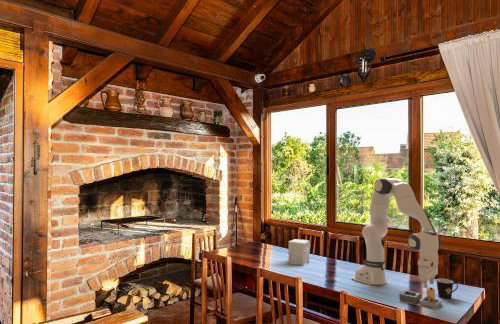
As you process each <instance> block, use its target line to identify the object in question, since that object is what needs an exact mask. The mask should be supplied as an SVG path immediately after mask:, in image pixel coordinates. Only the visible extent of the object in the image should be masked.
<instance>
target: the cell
mask: <svg viewBox="0 0 500 324" xmlns="http://www.w3.org/2000/svg"><path fill="white" fill-rule="evenodd" d="M426 297H427V302H431V303H435V299H436V289H435V288H434V287H429V286H428V287H427V288H426Z"/></svg>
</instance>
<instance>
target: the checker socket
mask: <svg viewBox="0 0 500 324" xmlns="http://www.w3.org/2000/svg"><path fill="white" fill-rule="evenodd" d="M398 294H399V295H398V297H399V299H398V300H401V301H400V302H402V301H405V302H404V303H406V302H409V303H408V304H410V303H413V304H412V305H414V304H417V303H418V302H420V301H419V300H421V299H422V298H423V297H422V295H423V294H422V293H421V292H416V291H411V290H407V289H405V290H403V291H402V292H400V293H398ZM407 294H408V295H407ZM411 295H412V296H411Z"/></svg>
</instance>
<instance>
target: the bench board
mask: <svg viewBox="0 0 500 324" xmlns="http://www.w3.org/2000/svg"><path fill="white" fill-rule="evenodd" d="M397 301H398V302H402V303H406V304H410V305H411V304H412V305H414V306H418V307H424V308H427V309H432V310H435V311H437V310H438V309H439V308H437V309H434V308H430V307H426V306H422V305H420V302H418V303H417V304H413V303H409V302H405V301H401V300H399V299H398V300H397ZM441 306H443V303H441Z"/></svg>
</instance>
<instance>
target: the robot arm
mask: <svg viewBox="0 0 500 324" xmlns="http://www.w3.org/2000/svg"><path fill="white" fill-rule="evenodd" d="M392 196H393V197H394V199H395V202H396V206H397V209H398V210H399V212H400V213H402V214H403V215H406V216H408V217H411V218H414V219H415V220H417V221H418V222H419V225H420V226H421V228H422V230H421V231H420V232H415V233H410V235H409V236H408V238H407V244H408V247H409V248H410V249H411V250H412V251H415V252H418V251H419V253H420V254H419V255H420V256H419V259H418V261H417V265H418V279H419V281H421V282H422V284H423V285H422V286H423V289H427V288H429V285H434V281H435V277H436V276H437V275H438V272H439V266H438V265H439V253H438V251H439V250H440V248H441V247H442V239H441V236H440V235H439V234H438V233H437V232H436V229H435V228H434V225H433V223H432V221H431V219H430V217H429V216H428V213H427V211H426V210H425V209H424V208H423V207H422V206H421V205H420V204H419V202H418V201H417V199H416V195H415V192H414V191H413V189H412V186H411V185H410V184H409V183H407V181H405V180H403V179H402V178H401V179H399V178H393V177H391V178H390V177H388V178H387V177H380V178H378V179H376V180H375V182H374V190H373V191H372V196H371V200H370V206H369V215H370V223H369V224H366V225H365V226H364V227H363V228H362V231H361V233H362V237H363V238H364V241H365V245H366V246H365V248H366V259H364V260H363V265H361V266H359V267H358V268H357V269H356V270H355V274H354V275H352V276H351V280H352V279H353V281H357V282H359V283H363V284H366V285H370V286H373V285H374V286H375V285H379V286H380V285H381V286H382V285H386V284H387V283H388V282H387V278H386V277H387V276H386V271H385V270H386V260H385V248H384V246H383V244H382V238H384V237H385V236H386V235H387V234H388V231H389V229H388V222H387V221H388V211H389V206H390V205H389V203H390V198H391V197H392ZM428 281H429V283H428Z"/></svg>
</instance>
